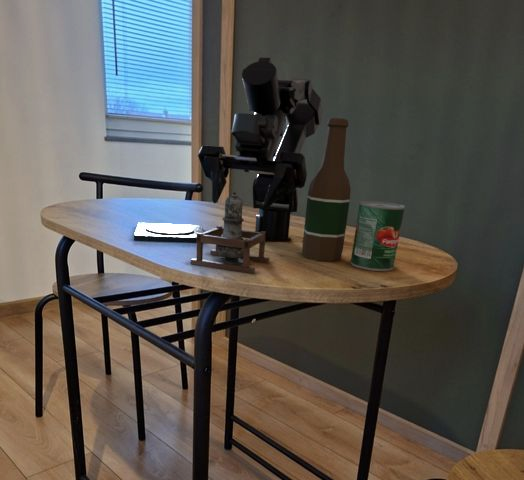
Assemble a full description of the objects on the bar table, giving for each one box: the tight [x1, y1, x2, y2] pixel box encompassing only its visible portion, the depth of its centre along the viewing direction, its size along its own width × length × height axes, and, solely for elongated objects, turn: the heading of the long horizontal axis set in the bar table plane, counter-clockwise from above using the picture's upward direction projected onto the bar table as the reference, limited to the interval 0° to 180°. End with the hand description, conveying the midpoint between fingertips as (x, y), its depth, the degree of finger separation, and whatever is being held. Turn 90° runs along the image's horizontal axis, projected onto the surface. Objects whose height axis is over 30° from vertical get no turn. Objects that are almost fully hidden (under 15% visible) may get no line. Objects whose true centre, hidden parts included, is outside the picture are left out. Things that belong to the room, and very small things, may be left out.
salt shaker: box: [215, 189, 245, 266], centre depth 79 cm, size 6×6×12 cm
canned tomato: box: [349, 200, 406, 272], centre depth 85 cm, size 8×8×11 cm
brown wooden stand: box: [190, 225, 270, 274], centre depth 80 cm, size 9×11×5 cm
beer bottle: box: [301, 117, 351, 262], centre depth 86 cm, size 8×8×24 cm
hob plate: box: [133, 222, 204, 244], centre depth 100 cm, size 14×14×1 cm
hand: (238, 204), depth 80 cm, fingers open, 9 cm apart
